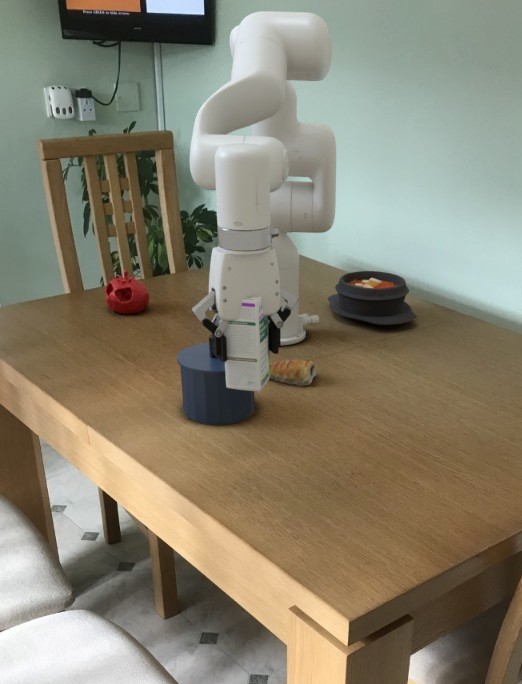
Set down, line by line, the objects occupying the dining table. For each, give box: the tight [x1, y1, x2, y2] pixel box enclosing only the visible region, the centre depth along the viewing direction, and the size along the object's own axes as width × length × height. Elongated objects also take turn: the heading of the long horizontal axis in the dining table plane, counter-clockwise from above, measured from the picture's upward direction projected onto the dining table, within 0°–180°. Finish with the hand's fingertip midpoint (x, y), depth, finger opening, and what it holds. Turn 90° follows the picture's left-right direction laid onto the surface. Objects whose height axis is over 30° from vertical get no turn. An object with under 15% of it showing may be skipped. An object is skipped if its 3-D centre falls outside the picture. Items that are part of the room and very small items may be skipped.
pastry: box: [269, 358, 317, 387], centre depth 155 cm, size 9×7×4 cm
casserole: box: [327, 270, 417, 326], centre depth 187 cm, size 25×19×8 cm
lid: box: [176, 334, 225, 374], centre depth 138 cm, size 13×13×5 cm
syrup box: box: [223, 297, 271, 392], centre depth 124 cm, size 6×6×14 cm
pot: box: [179, 365, 256, 426], centre depth 141 cm, size 12×13×10 cm
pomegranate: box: [104, 269, 150, 315], centre depth 187 cm, size 10×10×9 cm
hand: (247, 354), depth 126 cm, fingers closed on syrup box, 8 cm apart
